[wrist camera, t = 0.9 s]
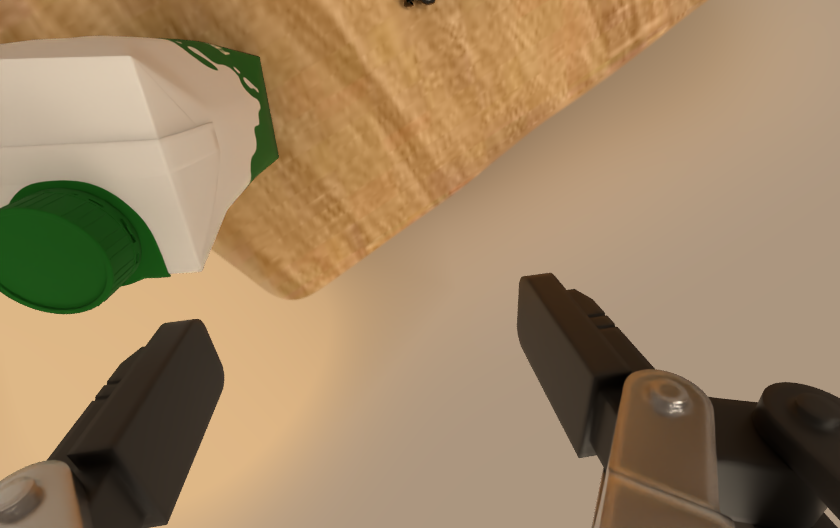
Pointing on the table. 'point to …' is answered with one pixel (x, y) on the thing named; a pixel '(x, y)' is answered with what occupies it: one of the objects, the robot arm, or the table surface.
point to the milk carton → (120, 161)
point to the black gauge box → (408, 3)
